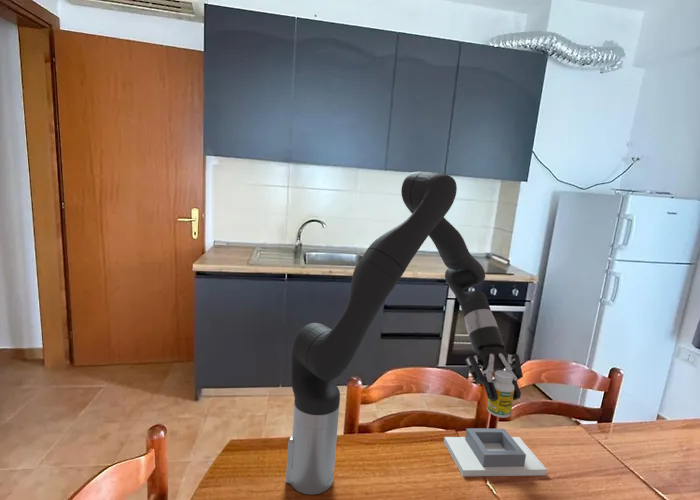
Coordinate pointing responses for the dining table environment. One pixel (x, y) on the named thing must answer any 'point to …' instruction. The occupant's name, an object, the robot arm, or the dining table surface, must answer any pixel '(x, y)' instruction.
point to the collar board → (492, 454)
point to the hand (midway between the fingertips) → (505, 399)
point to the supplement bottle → (502, 394)
